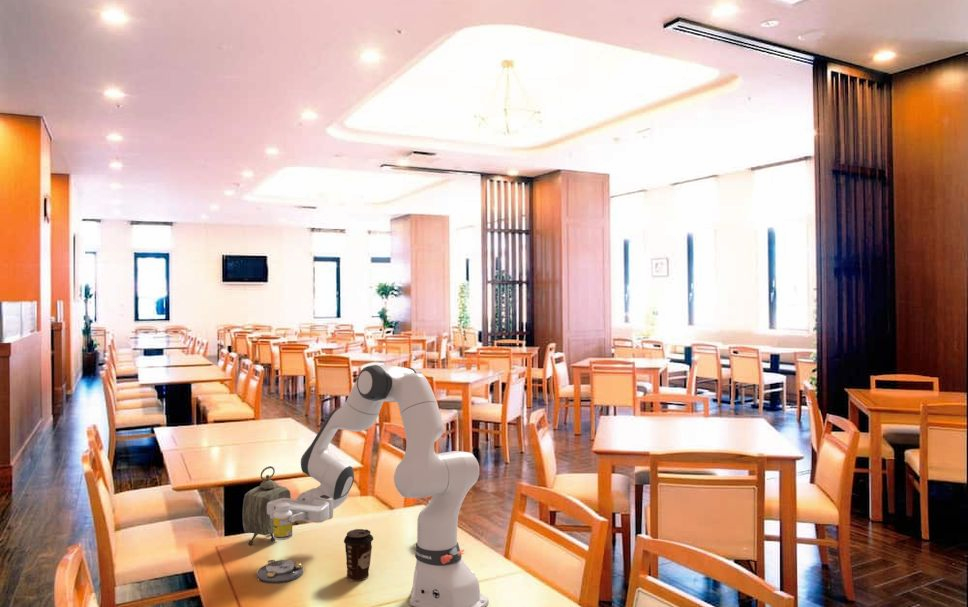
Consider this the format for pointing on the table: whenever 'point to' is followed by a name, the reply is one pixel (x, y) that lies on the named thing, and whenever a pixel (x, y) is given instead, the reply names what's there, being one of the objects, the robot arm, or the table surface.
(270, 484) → the tabletop clock
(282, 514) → the supplement bottle
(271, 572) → the stand
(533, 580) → the table surface
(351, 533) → the coffee cup
